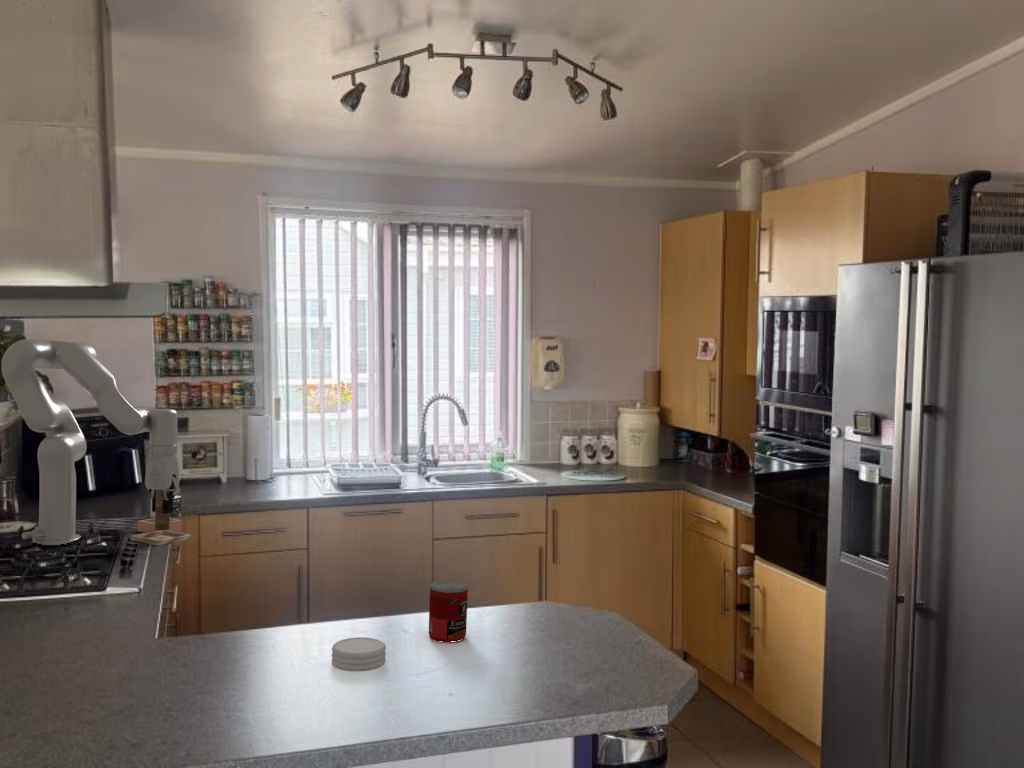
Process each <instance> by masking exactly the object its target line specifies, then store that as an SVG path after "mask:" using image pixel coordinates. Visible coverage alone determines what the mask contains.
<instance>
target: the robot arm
mask: <svg viewBox="0 0 1024 768" xmlns="http://www.w3.org/2000/svg"><path fill="white" fill-rule="evenodd" d="M0 368H1V373H2V377H3V379H4V381H5V384H6V385H7V387H8V390H9V391H10V393H11V395H12V397H13V399H14V401H15V403H16V405H17V407H18V410H19V411H20V413H21V415H22V417H23V419H24V421H25V423H26V425H27V427H28V428H29V429H30V430H32V431H33V432H36V433H44V434H45V436H46V437H45V438H44V439H42V441H41V442H40V443H39V446H38V448H37V464H38V470H39V471H38V474H39V488H38V489H39V498H38V500H39V505H38V507H39V508H38V512H39V513H38V526H35V528H34V529H32V531H24V532H22V533H21V538H22V540H28V539H32V543H33V544H34V543H37V544H36V545H38V544H41V545H40V546H62V545H61V544H64V545H68V544H67V543H71V542H74V541H77V540H79V539H80V538H81V539H82V536H81V535H80V534H79V533H78V534H77V533H76V516H77V515H76V514H77V513H76V511H77V509H76V508H77V473H76V468H75V467H76V466H75V462H77V461H79V460H81V459H82V458H83V457H84V456H85V455H86V453H87V447H88V446H87V440H86V438H85V436H84V434H83V432H82V430H81V428H80V426H79V424H78V421H77V419H76V417H75V416H74V414H73V412H72V410H71V409H70V407H69V406H68V405H67V404H66V403H65V402H64V401H62V400H59V399H56V398H51V396H50V395H49V393H48V391H47V389H46V387H45V385H44V383H43V381H42V380H41V378H40V377H39V375H38V374H37V373H36V369H53V370H64V371H65V372H66V373H67V374H68V375H69V376H70V377H71V378H72V379H73V380H74V381H75V382H76V383H77V385H79V386H80V387H81V388H82V389H83V390H84V391H85V392H86V393H87V394H88V396H90V398H91V400H92V402H93V403H94V405H95V406H96V407H97V409H98V410H99V412H100V413H101V414H102V415H103V416H104V417H105V418H106V420H107V421H109V422H110V423H111V424H112V425H113V426H114V427H115V428H116V429H117V430H118V431H119V432H121V433H123V434H125V435H128V436H134V435H138V434H142V433H147V432H149V454H148V456H147V460H146V465H145V474H144V475H145V476H144V477H145V478H144V485H145V488H146V489H147V490H148V492H149V493H150V499H151V498H153V499H152V512H155V503H156V489H157V490H163V492H164V499H165V500H163V514H167V513H172V512H173V499H174V498H175V496H177V494H178V493H180V491H181V488H180V486H179V485H180V484H179V483H180V467H179V459H178V412H177V411H176V410H175V409H171V408H156V409H153V408H147V407H135V408H134V406H132V404H131V403H129V402H128V401H127V400H126V398H125V397H124V396H122V394H121V393H120V391H119V390H118V387H117V384H116V383H117V382H116V378H115V376H114V375H113V373H112V372H110V370H108V369H107V368H106V366H104V365H103V364H102V363H101V362H100V361H99V360H98V354H97V352H96V350H95V348H94V347H93V346H91V345H90V344H89V343H86V342H82V341H81V342H79V341H60V340H50V339H49V340H48V339H36V338H35V339H34V338H25V339H19V340H18V341H17V340H16V341H15V342H14V343H13V344H11V345H10V346H9V347H8V348H7V349H6V351H5V352H4V354H3V356H2V358H1V367H0ZM168 488H170V489H168ZM168 491H170V492H169V494H168ZM71 544H72V543H71Z"/></svg>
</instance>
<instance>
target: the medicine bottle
mask: <svg viewBox="0 0 1024 768" xmlns="http://www.w3.org/2000/svg"><path fill="white" fill-rule="evenodd" d="M152 499H153V498H151V497H150V519H152V518H155V512H152ZM181 515H182V496H181V495H175V498H174V499H173V512H172V513H170V518H173V517H181Z"/></svg>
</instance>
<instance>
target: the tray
mask: <svg viewBox="0 0 1024 768" xmlns="http://www.w3.org/2000/svg"><path fill="white" fill-rule="evenodd" d="M129 539H130V540H129V541H133V542H138V543H144V544H146V545H153V546H156V547H157V546H163V545H168V544H173V543H178V542H183V541H188V540H192V534H189V533H185V532H180V531H176V532H174V531H168V530H163V531H155V532H150V533H144V532H143V533H139V534H132V535H130V538H129Z"/></svg>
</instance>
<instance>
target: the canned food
mask: <svg viewBox="0 0 1024 768" xmlns="http://www.w3.org/2000/svg"><path fill="white" fill-rule="evenodd" d="M468 590H469V587H468V584H467V583H466V582H463V581H462V580H461V581H459V580H453V579H440V580H435V581H433V582H431V583H430V585H429V604H428V605H429V607H428V608H429V609H428V636H429V638H430V639H431V640H432V639H433V640H432V641H434V640H436V641H435V642H437V641H443V642H451V641H458V640H461V639H463V638H464V637H465V638H466V637H467V622H468V618H467V616H468V594H469V593H468ZM465 638H464V639H465ZM464 639H463V640H464Z"/></svg>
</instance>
